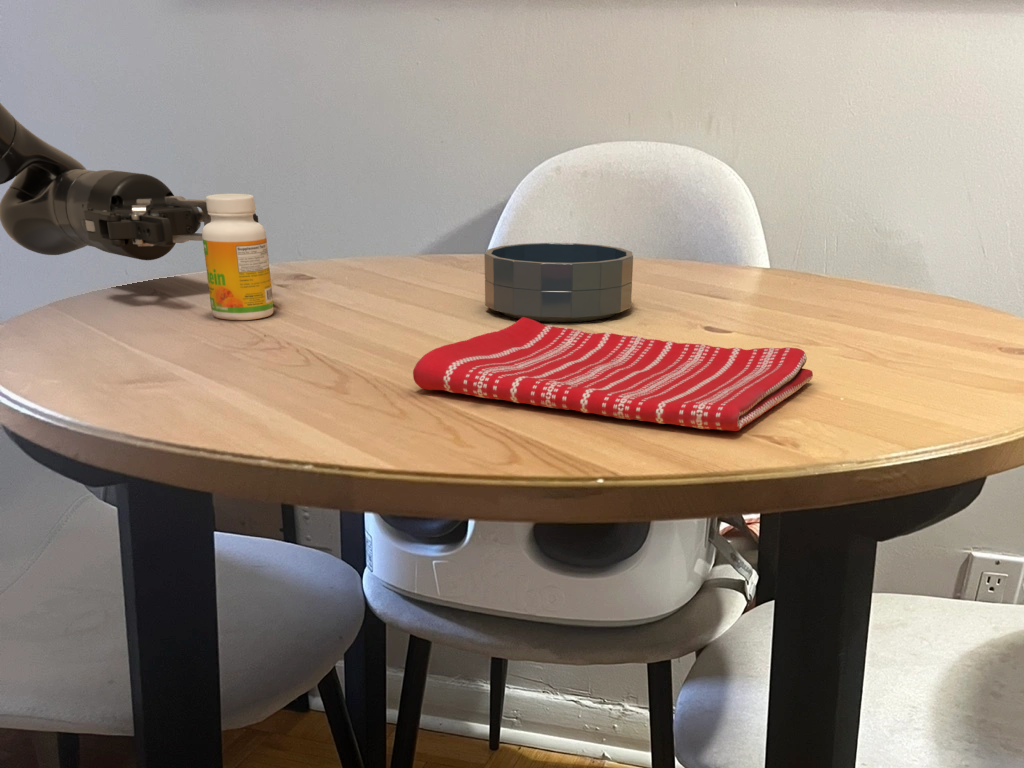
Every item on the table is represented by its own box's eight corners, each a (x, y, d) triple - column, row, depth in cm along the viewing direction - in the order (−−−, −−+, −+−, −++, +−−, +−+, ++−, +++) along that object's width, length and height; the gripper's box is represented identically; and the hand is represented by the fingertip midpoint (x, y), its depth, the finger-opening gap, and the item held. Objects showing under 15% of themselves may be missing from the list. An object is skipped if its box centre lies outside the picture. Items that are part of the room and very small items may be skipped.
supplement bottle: (201, 314, 103) (185, 195, 98) (255, 307, 106) (242, 191, 101) (230, 323, 99) (215, 200, 94) (285, 316, 102) (273, 196, 98)
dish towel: (523, 348, 92) (523, 313, 90) (814, 383, 82) (819, 344, 81) (403, 394, 78) (401, 354, 77) (733, 442, 69) (737, 398, 68)
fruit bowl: (597, 330, 98) (599, 267, 96) (460, 316, 103) (459, 256, 100) (650, 305, 108) (653, 248, 106) (524, 294, 113) (524, 239, 111)
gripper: (43, 174, 105) (130, 186, 95) (183, 167, 114) (277, 178, 104) (59, 262, 108) (145, 283, 98) (194, 249, 117) (285, 266, 107)
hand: (212, 229), depth 101 cm, fingers open, 8 cm apart
